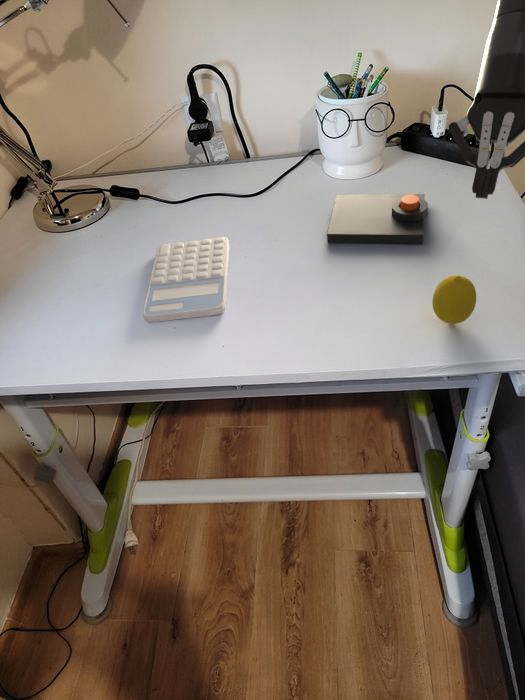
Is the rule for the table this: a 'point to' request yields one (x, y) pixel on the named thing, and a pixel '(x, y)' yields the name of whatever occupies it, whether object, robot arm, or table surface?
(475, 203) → the table surface
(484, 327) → the table surface
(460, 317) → the lemon
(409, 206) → the button
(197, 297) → the calculator
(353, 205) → the scale
